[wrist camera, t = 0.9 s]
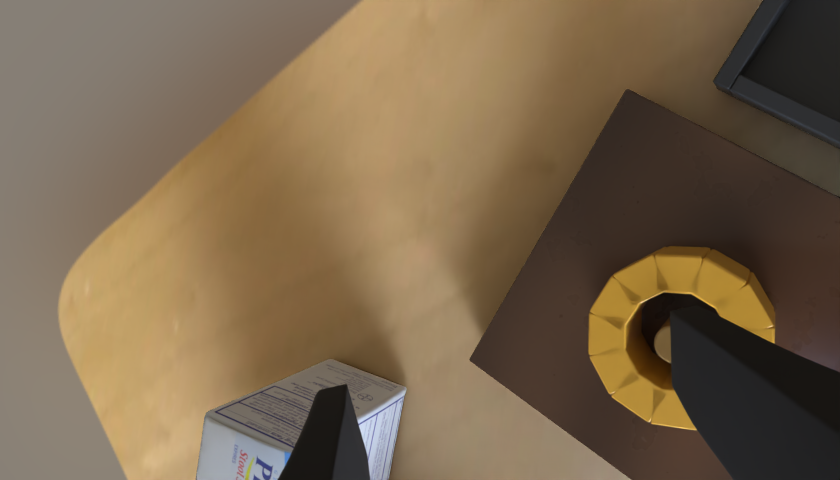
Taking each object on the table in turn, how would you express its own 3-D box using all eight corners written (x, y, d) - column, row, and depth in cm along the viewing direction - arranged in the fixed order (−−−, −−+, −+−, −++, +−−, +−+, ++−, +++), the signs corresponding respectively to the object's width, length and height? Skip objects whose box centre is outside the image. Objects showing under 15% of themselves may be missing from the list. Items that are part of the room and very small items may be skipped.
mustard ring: (810, 303, 22) (814, 320, 20) (714, 432, 24) (707, 464, 21) (659, 216, 24) (645, 221, 22) (580, 342, 26) (557, 360, 23)
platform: (972, 266, 22) (1027, 290, 17) (750, 540, 26) (745, 622, 21) (636, 94, 26) (605, 74, 21) (486, 349, 30) (430, 382, 25)
